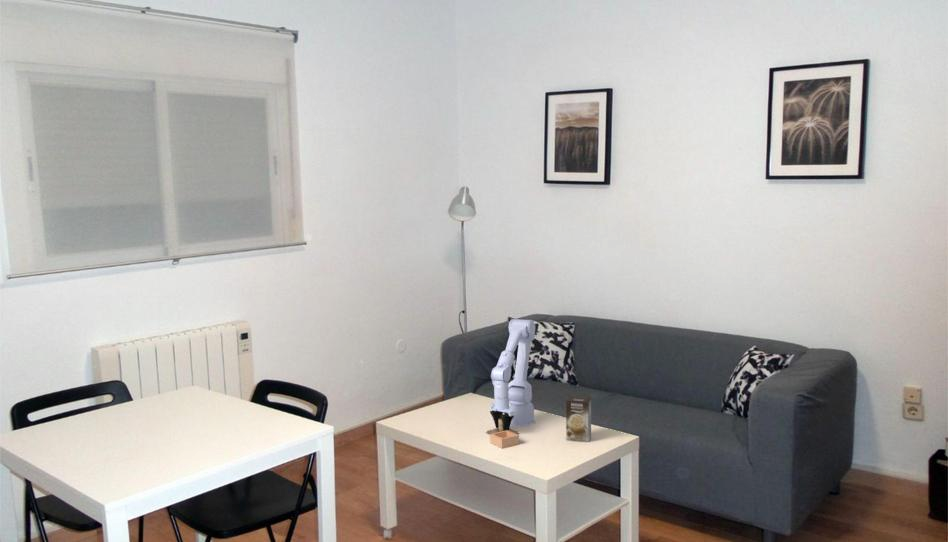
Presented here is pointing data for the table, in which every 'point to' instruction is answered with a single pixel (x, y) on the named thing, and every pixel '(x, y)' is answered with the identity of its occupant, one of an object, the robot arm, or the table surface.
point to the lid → (500, 428)
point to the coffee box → (578, 419)
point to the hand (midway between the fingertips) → (502, 429)
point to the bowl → (504, 439)
